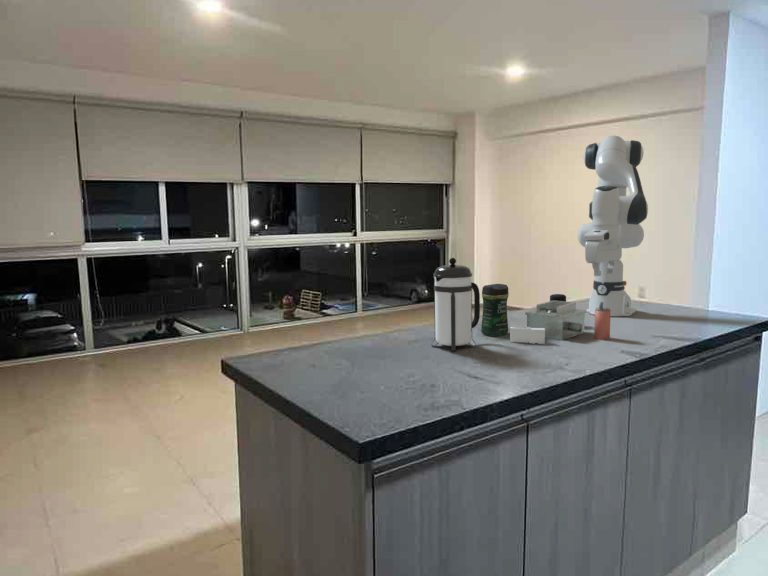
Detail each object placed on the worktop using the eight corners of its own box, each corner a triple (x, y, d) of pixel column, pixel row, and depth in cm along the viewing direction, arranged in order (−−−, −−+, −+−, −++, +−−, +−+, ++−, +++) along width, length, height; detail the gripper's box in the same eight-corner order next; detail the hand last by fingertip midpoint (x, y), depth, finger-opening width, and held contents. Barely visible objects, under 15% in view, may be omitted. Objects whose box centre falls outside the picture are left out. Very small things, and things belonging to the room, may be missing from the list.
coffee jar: (493, 337, 194) (493, 286, 192) (477, 334, 201) (477, 284, 198) (512, 333, 200) (512, 283, 197) (496, 330, 206) (496, 281, 204)
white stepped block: (500, 342, 189) (500, 326, 188) (520, 337, 196) (521, 322, 195) (536, 350, 177) (536, 333, 176) (556, 344, 184) (557, 328, 183)
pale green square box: (549, 326, 210) (549, 299, 208) (595, 333, 197) (596, 304, 195) (525, 334, 198) (525, 305, 197) (572, 341, 185) (573, 311, 184)
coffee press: (478, 352, 175) (478, 259, 170) (428, 351, 178) (427, 260, 174) (479, 340, 191) (479, 255, 187) (434, 339, 195) (433, 255, 191)
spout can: (598, 336, 193) (599, 300, 191) (612, 338, 189) (613, 301, 187) (591, 338, 189) (592, 302, 188) (605, 340, 186) (606, 303, 184)
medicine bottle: (569, 326, 210) (570, 295, 208) (550, 326, 210) (551, 296, 208) (563, 322, 217) (564, 292, 215) (545, 323, 217) (546, 293, 215)
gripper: (609, 232, 194) (608, 271, 196) (581, 235, 180) (580, 276, 182) (627, 233, 189) (625, 272, 191) (600, 235, 175) (599, 278, 177)
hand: (603, 274), depth 186 cm, fingers open, 8 cm apart
